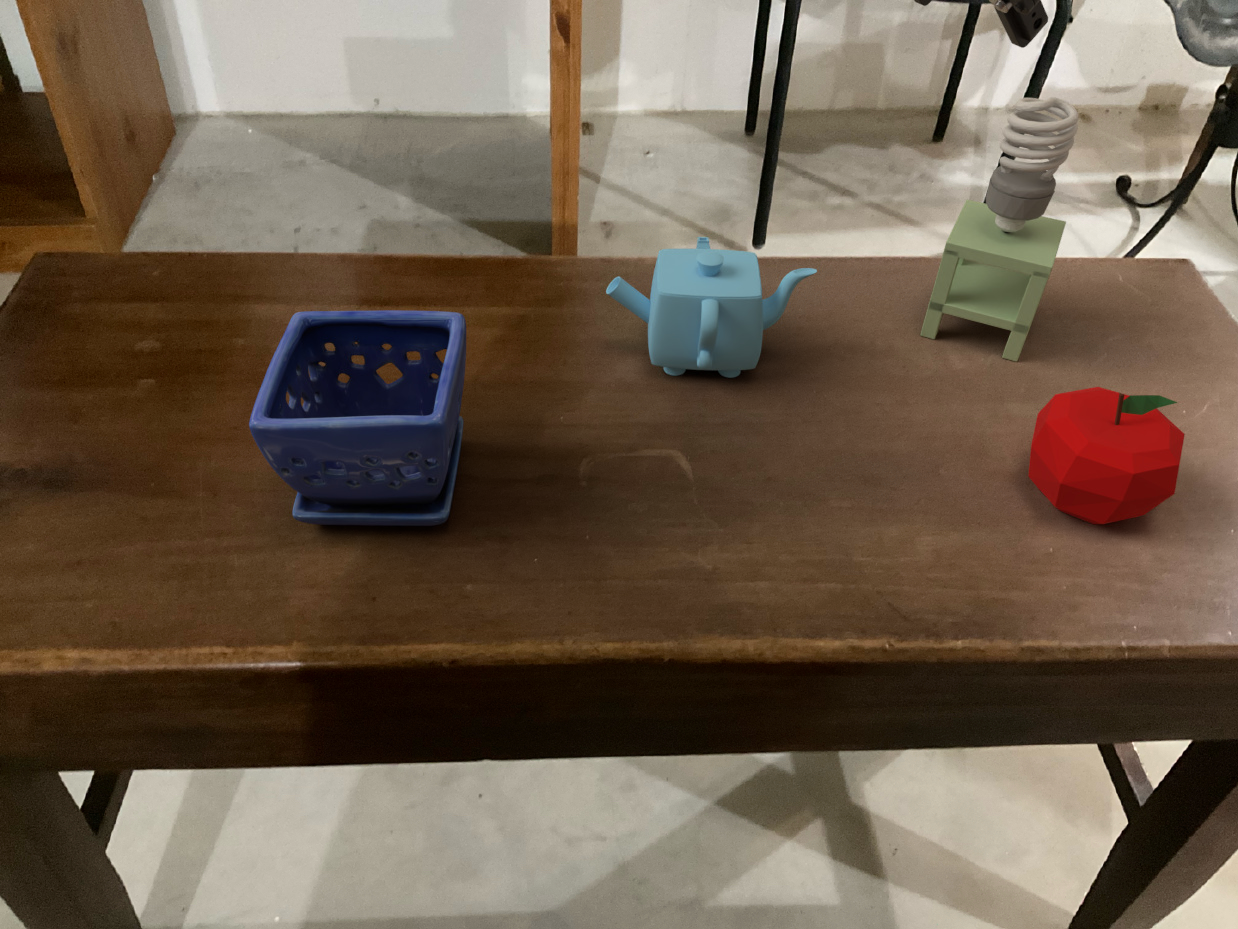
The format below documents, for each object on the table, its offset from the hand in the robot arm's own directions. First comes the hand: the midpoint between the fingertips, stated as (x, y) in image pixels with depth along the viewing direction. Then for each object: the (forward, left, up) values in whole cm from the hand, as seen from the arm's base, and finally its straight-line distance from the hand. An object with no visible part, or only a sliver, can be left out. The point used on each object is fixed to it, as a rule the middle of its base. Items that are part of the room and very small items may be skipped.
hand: (979, 12), depth 60 cm
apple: (-17, +2, -33) cm, 37 cm away
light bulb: (-5, -18, -23) cm, 29 cm away
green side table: (-5, -18, -33) cm, 38 cm away
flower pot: (+32, +26, -33) cm, 53 cm away
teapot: (+17, -2, -33) cm, 37 cm away
